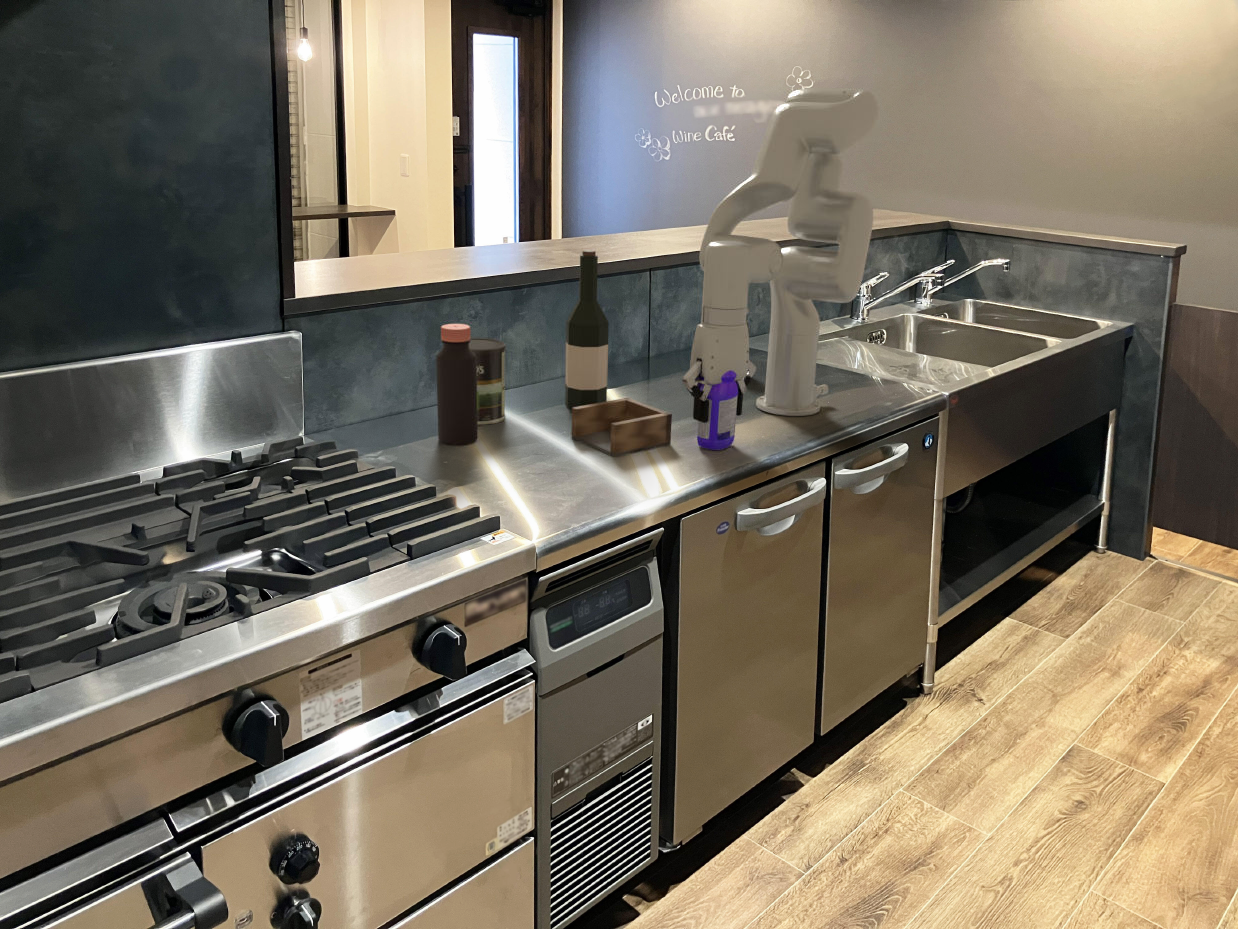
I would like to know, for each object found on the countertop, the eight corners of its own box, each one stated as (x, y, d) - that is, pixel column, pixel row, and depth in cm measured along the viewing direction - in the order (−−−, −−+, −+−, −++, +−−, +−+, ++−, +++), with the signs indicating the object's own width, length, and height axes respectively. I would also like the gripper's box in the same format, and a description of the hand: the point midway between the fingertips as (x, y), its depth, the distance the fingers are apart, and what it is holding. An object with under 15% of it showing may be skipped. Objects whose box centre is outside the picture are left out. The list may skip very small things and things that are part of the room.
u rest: (626, 427, 191) (627, 397, 189) (670, 444, 182) (671, 414, 180) (571, 438, 184) (572, 407, 182) (614, 457, 175) (615, 425, 173)
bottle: (711, 437, 187) (717, 342, 181) (739, 444, 184) (746, 347, 178) (690, 447, 181) (696, 349, 175) (719, 454, 178) (725, 354, 172)
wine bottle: (601, 412, 200) (606, 254, 190) (559, 409, 201) (561, 252, 191) (610, 401, 207) (615, 249, 198) (570, 398, 209) (572, 246, 199)
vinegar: (443, 447, 177) (440, 331, 170) (434, 436, 183) (430, 323, 176) (482, 443, 179) (480, 329, 173) (471, 432, 185) (469, 321, 179)
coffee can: (489, 428, 188) (489, 352, 183) (439, 420, 191) (437, 345, 187) (515, 414, 197) (515, 340, 192) (467, 407, 200) (466, 335, 196)
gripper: (745, 308, 183) (738, 405, 188) (670, 317, 172) (665, 419, 178) (776, 315, 177) (768, 415, 183) (700, 325, 167) (694, 430, 173)
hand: (717, 416), depth 181 cm, fingers closed on bottle, 7 cm apart
